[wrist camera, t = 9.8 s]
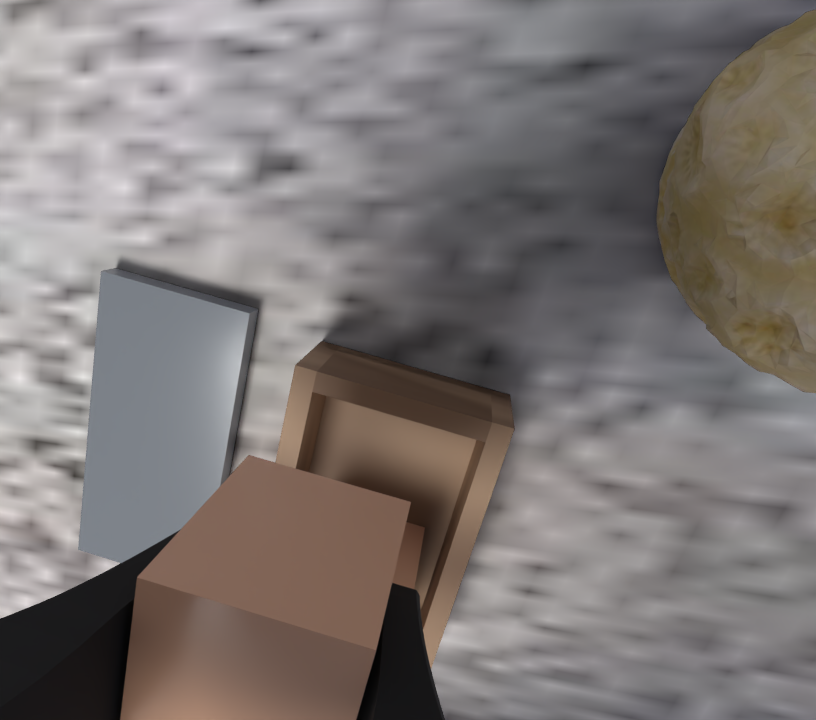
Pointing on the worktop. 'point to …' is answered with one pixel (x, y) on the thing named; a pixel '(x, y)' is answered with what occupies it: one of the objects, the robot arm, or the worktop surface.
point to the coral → (751, 206)
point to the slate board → (159, 409)
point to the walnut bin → (403, 453)
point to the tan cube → (265, 601)
